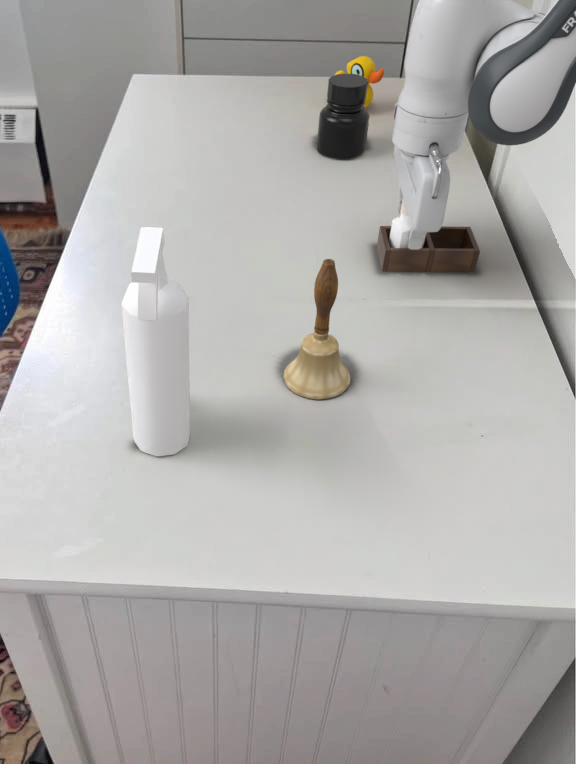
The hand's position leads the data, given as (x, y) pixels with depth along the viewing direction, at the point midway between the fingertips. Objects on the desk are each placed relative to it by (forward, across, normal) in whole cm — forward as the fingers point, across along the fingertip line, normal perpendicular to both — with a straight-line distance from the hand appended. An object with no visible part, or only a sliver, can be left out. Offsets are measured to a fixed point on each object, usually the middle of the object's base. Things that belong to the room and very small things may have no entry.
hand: (408, 229), depth 102 cm
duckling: (+6, +59, +2) cm, 59 cm away
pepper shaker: (+5, 0, 0) cm, 5 cm away
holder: (+6, 0, -3) cm, 7 cm away
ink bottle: (+6, +40, +6) cm, 41 cm away
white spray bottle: (+6, -36, +32) cm, 48 cm away
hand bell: (+6, -26, +14) cm, 30 cm away
